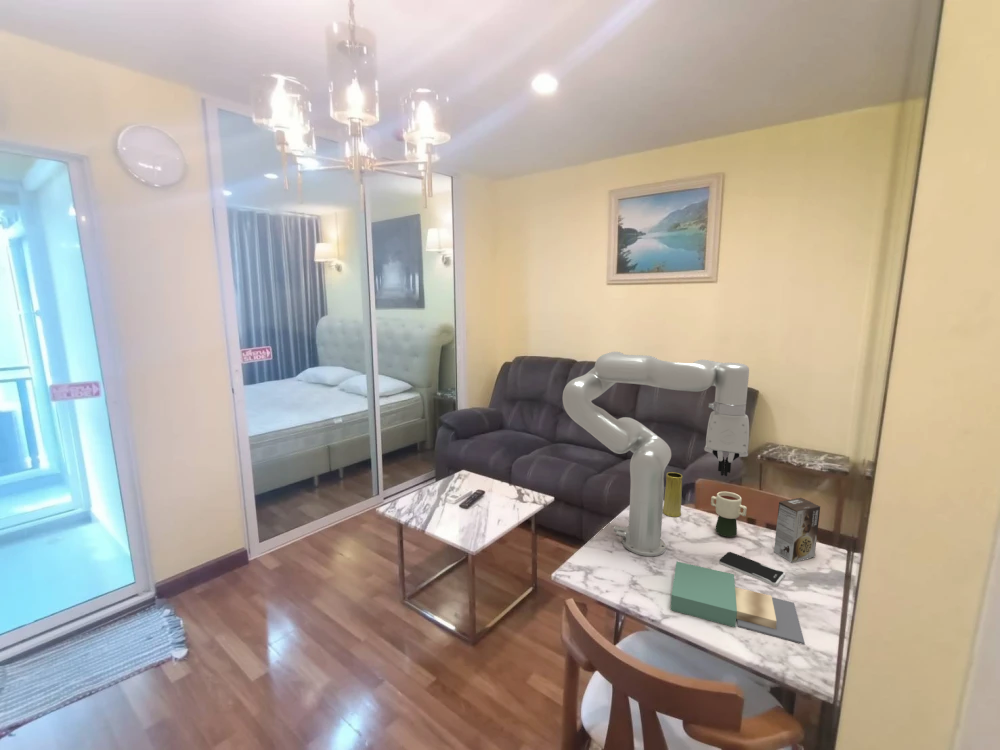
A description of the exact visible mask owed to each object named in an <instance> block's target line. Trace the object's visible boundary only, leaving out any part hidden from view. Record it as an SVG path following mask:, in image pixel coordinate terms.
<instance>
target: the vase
mask: <svg viewBox="0 0 1000 750" xmlns="http://www.w3.org/2000/svg"><path fill="white" fill-rule="evenodd" d="M665 480H666V482H665V487H664V497H663V512H662V514H664V515H666V516H667V517H671V518H672V517H673V518H678V517H681V516H682V511H681V510H682V495H683V494H682V491H683V475H682V474H681V473H679V472H676V471H675V472H673V471H671V472H670V471H669V472H666V479H665Z"/></svg>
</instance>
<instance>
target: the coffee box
mask: <svg viewBox="0 0 1000 750" xmlns="http://www.w3.org/2000/svg"><path fill="white" fill-rule="evenodd" d="M777 511H778V512H777V518H776V519H777V520H776V529H775V536H774V537H775V538H774V547H773V552H774V554H776V555H778V556H780V557H781V558H783V557H784V558H783V559H786V560H787V561H788V560H789V562H790V561H791V562H790V563H792V562H793V563H796V561H797V562H800V561H799V560H801V561H804V560H803V559H805V560H808V559H807V558H809V559H812V558H811V557H813V558H815V557H814V556H816V549H817V548H816V547H817V539H818V538H817V537H818V533H819V523H820V513H821V512H820V511H821V506H820V505H818V504H816V503H814V502H812V501H810V500H807V499H805V498H802V497H798V498H792V499H786V500H782V501H781V500H780V501H779V502H778V509H777Z"/></svg>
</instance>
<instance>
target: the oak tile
mask: <svg viewBox="0 0 1000 750" xmlns="http://www.w3.org/2000/svg"><path fill="white" fill-rule="evenodd" d="M735 593H736V606H737V615H736V620H737V619H739V620H743V621H747V622H751V623H754V624H758V625H762V626H766V627H770V628H774V629H776V622H777V621H776V616H775V611H774V606H773V601H772V595H770V594H765V593H762V592H757V591H753V590H749V589H744V588H740V587H736V586H735Z"/></svg>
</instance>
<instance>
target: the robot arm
mask: <svg viewBox="0 0 1000 750" xmlns="http://www.w3.org/2000/svg"><path fill="white" fill-rule="evenodd" d="M749 376H750V368H749V366H748V365H746V364H745V363H740V362H719V361H714V360H710V359H699V360H696V361H694V362H675V361H667V360H661V359H658V358H657V357H656V356H652V355H645V354H644V355H643V354H642V355H641V354H637V355H636V354H624V353H623V352H620V351H611V352H607V353H605V354H601V356H599V357H598V358H597V359H596V361H595V364H594V366H593V368H591V369H590V370H589V371H588V372H586V373H585V374H583V375H581V376H578V377H575V378H573V379H571V380H570V381H568V382H567V384H566V385H565V387H564V389H563V392H562V404H563V405H562V406H563V408H564V410H565V413H566V414H567V415H568V416H569V417H570V419H572V421H574V423H575V424H577V425H579V426H580V427H581V428H583V429H584V430H585V431H586V432H587V433H589V434H590V435H592V436H593V437H594V438H595V439H596V440H598V441H599V442H600V443H601V444H602V445H604V446H605V447H606V448H608V449H609V450H610V451H611V452H613V453H614V454H619V455H621V454H626V453H628V452H629V451H630V452H631V453H632V456H631V458H630V463H629V474H630V487H629V488H630V491H629V492H630V493H629V512H628V513H629V514H628V525H627V526H625V527H623V526H620V525H614V527H613V532H614V533H616V536H618V537H622V541H621V542H622V545H623V546H624V548H625V549H626V550H628V551H630V552H632V553H633V554H636V555H639V556H644V557H656V556H660V555H663V553H664V554H665V551H666V548H667V547H666V543H665V541H664V540H663V539H662V524H663V507H664V497H665V480H664V478H665V471H666V468H667V466H668V465H669V463H670V461H671V458H672V449H671V447H670V446H669V444H668V442H666V441H665V440H664V439H663V438H661V437H660V436H658V435H657V434H656V433H654V432H653V431H652V430H650V428H648V427H647V426H645V425H644V424H643V423H641V422H639V421H638V420H636V419H634V418H632V417H628V416H627V417H626V416H625V417H620V418H616V417H614V416H613V415H611V414H610V413H609V412H608V411H606V410H605V409H604V408H602V407H599V406H598V405H596V404H595V403H593V402H592V401H593V400H596V399H597V398H599V397H600V396H602V394H604V393H605V392H606V391H607V390H609V389H610V388H611V387H612V386H614V385H615V384H616V383H617V384H618V383H621V384H634V385H641V386H642V385H644V386H650V387H655V388H660V389H665V390H673V391H674V390H675V391H681V392H682V391H683V392H696V393H697V392H702V391H705V390H707V389H709V388H710V387H715V395H714V401H713V402H708V408H709V409H712V410H713V411H711V412H710V415H709V418H708V423H707V427H706V428H707V430H706V436H705V437H706V438H705V446H704V447H703V449H704V451H705V452H707V453H710V454H712V455H713V456H714V457H716V458H717V460H718V465H717V466H718V467H717V471H718V472H720V476H724V477H728V473H729V474H730V473H731V468H732V463H733V461H735V460H737V459H738V458H742V457H743V458H745V457H748V456H749V441H750V422H749V421H750V420H749V416H748V415H747V414H746V410H747V409H746V408H747V399H748V389H749V386H748V385H749ZM723 453H728V454H727V457H726V458H725V456H724V455H723Z"/></svg>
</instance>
